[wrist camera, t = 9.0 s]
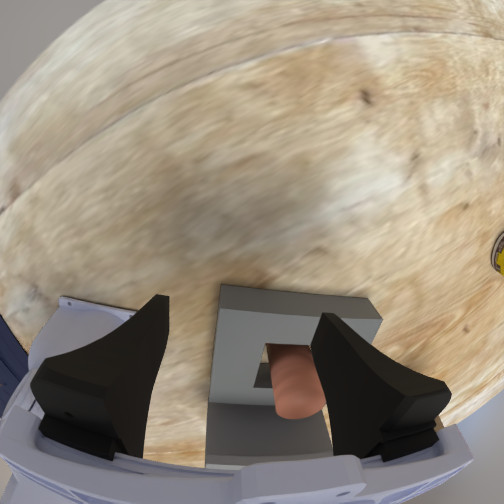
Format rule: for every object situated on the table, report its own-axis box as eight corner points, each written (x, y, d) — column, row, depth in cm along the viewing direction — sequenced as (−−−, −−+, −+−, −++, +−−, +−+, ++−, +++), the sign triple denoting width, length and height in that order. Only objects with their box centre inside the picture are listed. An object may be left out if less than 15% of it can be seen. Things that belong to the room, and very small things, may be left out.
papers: (-55, 335, 24) (-63, 345, 21) (2, 293, 25) (-11, 306, 22) (13, 419, 34) (9, 430, 30) (96, 410, 35) (92, 426, 31)
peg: (263, 356, 27) (272, 420, 20) (269, 326, 25) (281, 392, 18) (301, 356, 27) (317, 417, 20) (309, 327, 26) (332, 390, 18)
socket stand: (207, 401, 30) (204, 480, 20) (221, 284, 23) (215, 387, 13) (316, 404, 31) (335, 475, 21) (368, 298, 25) (423, 379, 15)
